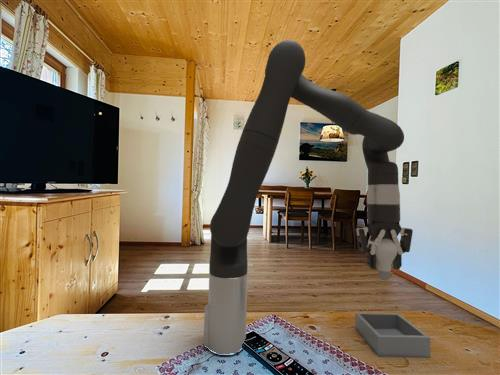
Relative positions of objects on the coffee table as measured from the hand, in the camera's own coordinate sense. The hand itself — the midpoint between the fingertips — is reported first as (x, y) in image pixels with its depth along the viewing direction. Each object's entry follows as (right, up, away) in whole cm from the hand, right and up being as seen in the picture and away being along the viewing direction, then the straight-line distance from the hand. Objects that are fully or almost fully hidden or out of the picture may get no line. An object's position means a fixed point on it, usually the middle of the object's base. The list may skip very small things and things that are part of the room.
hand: (384, 268), depth 64 cm
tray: (+1, -18, -1) cm, 18 cm away
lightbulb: (0, -3, 0) cm, 3 cm away
